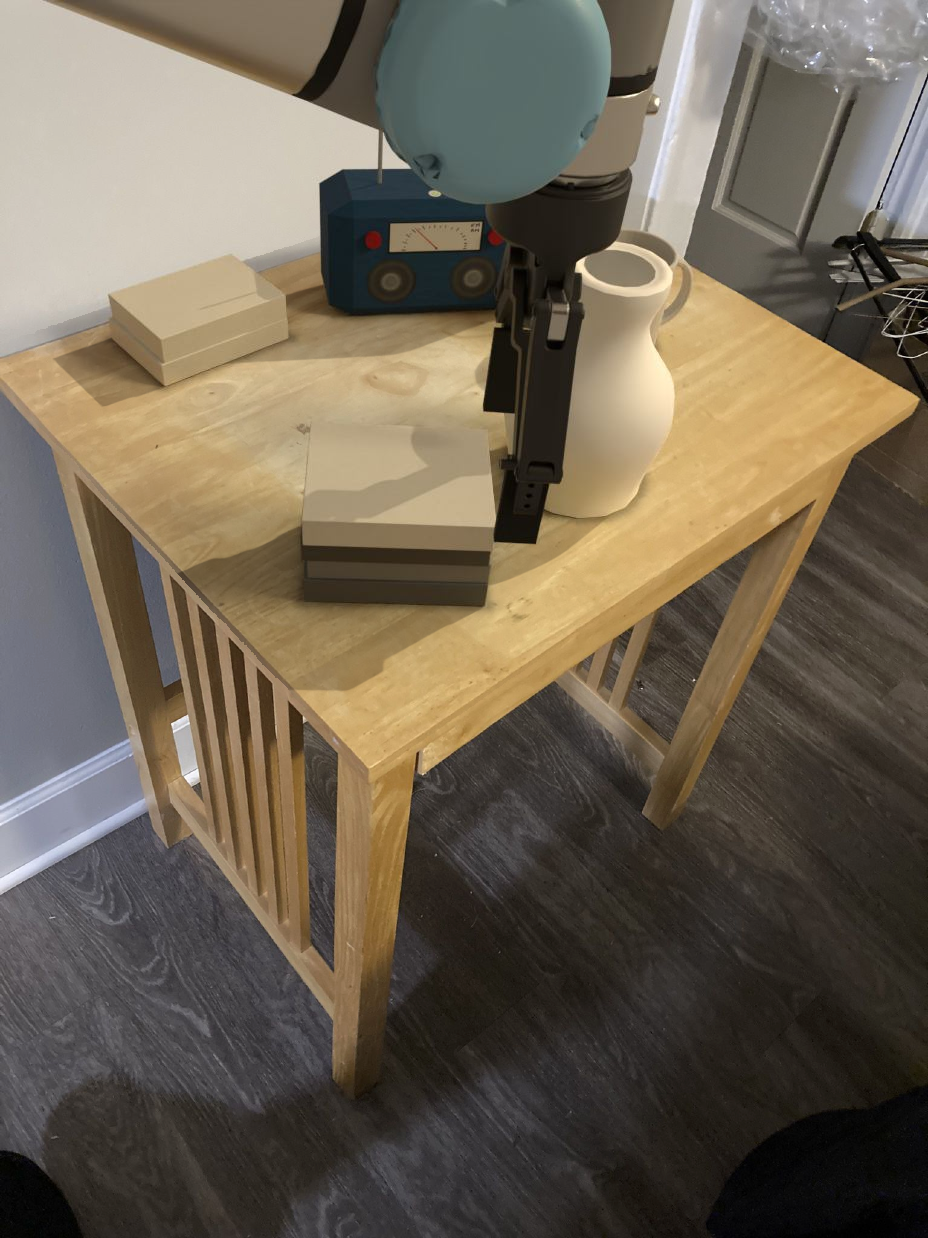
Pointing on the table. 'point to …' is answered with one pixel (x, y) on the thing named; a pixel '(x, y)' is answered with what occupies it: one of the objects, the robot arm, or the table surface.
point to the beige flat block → (398, 487)
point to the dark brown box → (394, 575)
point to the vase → (614, 385)
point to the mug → (673, 260)
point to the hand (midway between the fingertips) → (507, 470)
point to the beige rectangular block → (197, 318)
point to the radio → (404, 245)
